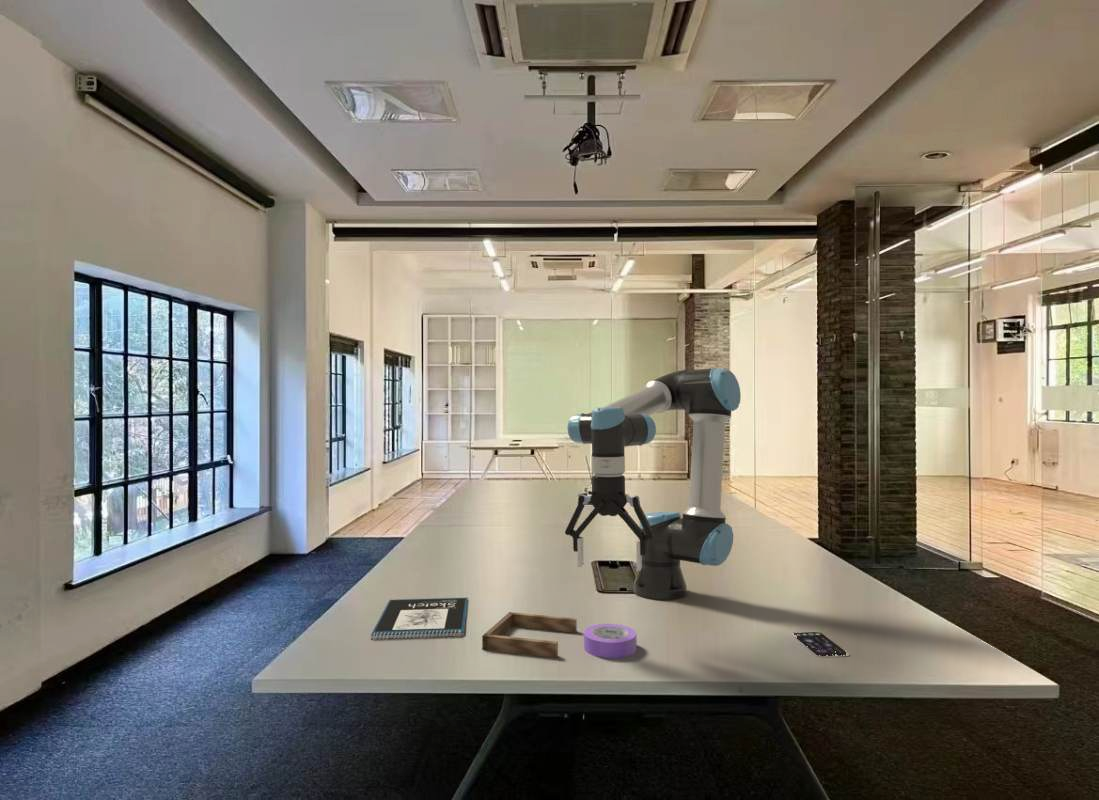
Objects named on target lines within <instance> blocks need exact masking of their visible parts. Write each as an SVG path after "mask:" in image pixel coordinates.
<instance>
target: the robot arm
mask: <svg viewBox="0 0 1099 800" xmlns="http://www.w3.org/2000/svg"><path fill="white" fill-rule="evenodd" d="M740 403H741V389H740V384H739V381H738V379H737V377H736V375H735V374H734V373H733V372H732V371H731V370H729V369H726V368H715V367H713V368H705V369H681V370H676V371H671V373H667V374H665V375H662V376H660V377H657V378H656V379H653V380H651V381H648V383H646V384H645V385H644V387H643V388H641V389H640V390H638V391H636V392H633V393H631V394H629V395H627V396H625V397H622V398H621V399H619V400H616V401H614V402H612V403H609V404H607V405H606V406H603V407H602V406H601V407H600V406H599V407H594V408H593V409H592V411H591V412H588V413H584V412H583V413H575V414H573V415H572V416H571V417H570V418H569V420H568V422H567V434H568V437H569V439H570V440H571V441H572V442H574V443H577V444H578V443H579V444H583V445H586V444H587V445H589V444H590V445H591V472H592V474H594V475H592V477H591V496H590V495H586V494H584V493H583V494H581V495H579V496H578V498H577V499H578V500H577V505H576V508H575V510H574V512H573V514H572V517H571V518H570V521H569V523H568V524H567V527H566V529H565V532H564V534H565V535H567V536H570V537H571V538H572V541H573V542H572V544H573V545H572V549H573V552H574V553H575V552H577V567H578V568H582V567H583V566H584V561H585V560H584V536H583V535H581V534H582V533H583V532H584V530H586V528H588V526H589V525H590V523H591V522H592V521H593V520H594V519H595V517H596V516H597V515H598V514H599V515H600V516H602V517H603V516H604V517H605V516H606V517H607V516H610V517H616V516H619V517H620V518H621V519H622V520H623V522H624V523H625V524H626V525H627V526H628V527H629V529H630V530H631V531H632V532H633V534H634V535H635V536H636V537H637V540H636V541H635V542H636V547H635V548H636V571H637V572H636V575H635V579H634V582H633V593H634V594H635V595H637V596H640V597H642V598H647V599H652V600H676V599H680V598H683V597H686V595H687V584H686V580H685V577H684V574H683V571H682V568H681V561H684V562H689V563H694V564H699V565H701V566H713V567H716V566H720V565H722V564H723V563H725V562H726V560H727V559H728V557H729V555H730V554H731V551H732V548H733V543H734V533H733V527H732V526H731V525H729V524H728V523H727V522H726V520H727V519H726V515H725V514H724V512H722V510H721V506H722V503H721V502H722V487H723V469H724V467H723V466H724V465H723V464H724V452H725V451H724V450H725V449H724V448H725V434H726V433H725V429H726V423H727V422H728V421H729V420H730V419H731V418H732V412H733V411H735V410H737V409H738V408H739V406H740ZM676 410H677V411H681V410H683V411H688V417H689V418H690V419H691V420H692V423H693V425H692V426H693V427H692V445H691V461H690V462H691V463H690V479H689V480H690V481H689V495H688V497H689V498H688V507H687V508H686V509H685V510H684V511H683V512H682V515H681V513H680V511H677V510H672V511H671V510H668V511H667V510H666V511H658V512H650V513H646V514H645V512H644V510H643V509H642V506H641V502H640V497H639V496H638V495H635V496H631V497H627V495H626V477H625V475H623V474H625V472H626V462H625V460H626V459H625V458H626V456H625V447H633V446H634V447H635V446H638V447H641V446H643V445H646V444H649V443H651V442H653V440H654V439H655V437H656V433H657V427H656V423H655V421H654V419H653V418H652V416H651V415H653V414H655V413H656V414H663V413H665V412H668V411H676ZM589 502H590V504H591V505H592V507H593V510H592V511H591V512H590V513H589V515H588V516H587V517H586V518H585V519H584V520H583V522H582V523H581V524H580V525H579V526H578V527H577V529H576V530H575V529H574V528H575V526H576V525H577V522H578V521H579V519H580V517H581V516H582V515H581V514H582V513H583V510H584V508H585V506H586V505H588V504H589ZM627 504H629V506H630V507H632V508H633V510H634V512H635V515H636V517H637V518H638V520H639V524H637V523H636V521H635V520H634V519H633V518H632V516H631V515H630V514H629V512H628V511H627V510H626V509H625V507H626V505H627Z"/></svg>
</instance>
